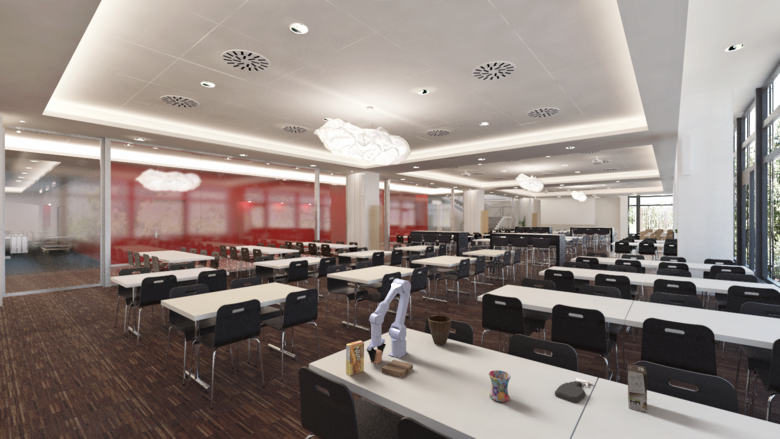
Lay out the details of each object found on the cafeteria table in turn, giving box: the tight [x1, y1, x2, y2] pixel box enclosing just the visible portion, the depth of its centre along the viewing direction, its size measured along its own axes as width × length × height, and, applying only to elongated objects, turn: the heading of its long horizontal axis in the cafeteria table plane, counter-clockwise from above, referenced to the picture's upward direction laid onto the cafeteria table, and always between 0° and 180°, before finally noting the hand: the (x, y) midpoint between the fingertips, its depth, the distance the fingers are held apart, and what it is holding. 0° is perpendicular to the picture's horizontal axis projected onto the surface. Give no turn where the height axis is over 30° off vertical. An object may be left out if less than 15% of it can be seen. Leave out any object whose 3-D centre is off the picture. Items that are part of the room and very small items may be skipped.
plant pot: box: [427, 315, 452, 346], centre depth 224 cm, size 15×15×16 cm
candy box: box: [345, 340, 365, 376], centre depth 182 cm, size 9×4×15 cm, turn 129°
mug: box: [488, 369, 512, 403], centre depth 157 cm, size 12×9×11 cm
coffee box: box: [627, 363, 648, 413], centre depth 149 cm, size 9×6×16 cm
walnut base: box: [381, 359, 414, 379], centre depth 184 cm, size 12×12×3 cm
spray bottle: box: [554, 377, 593, 404], centre depth 163 cm, size 3×11×24 cm
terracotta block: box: [371, 348, 383, 365], centre depth 195 cm, size 4×4×6 cm
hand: (376, 359), depth 195 cm, fingers open, 7 cm apart
